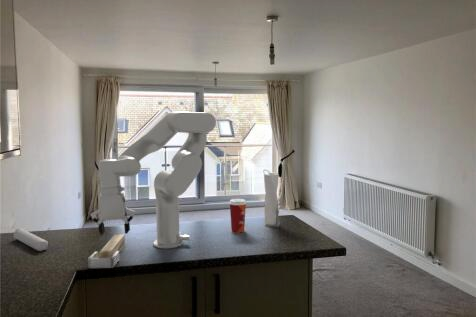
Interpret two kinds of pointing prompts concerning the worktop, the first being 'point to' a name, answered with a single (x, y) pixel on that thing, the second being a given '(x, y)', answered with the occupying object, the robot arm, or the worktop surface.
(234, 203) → the coffee cup
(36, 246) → the tube
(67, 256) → the worktop surface
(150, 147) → the robot arm
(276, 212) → the white bottle gift bag
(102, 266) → the cup bracket
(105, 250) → the maple rail
